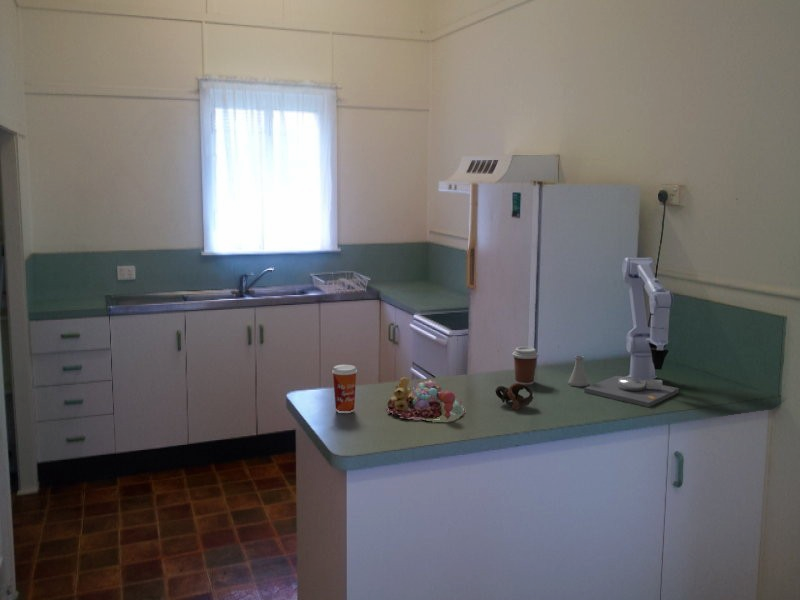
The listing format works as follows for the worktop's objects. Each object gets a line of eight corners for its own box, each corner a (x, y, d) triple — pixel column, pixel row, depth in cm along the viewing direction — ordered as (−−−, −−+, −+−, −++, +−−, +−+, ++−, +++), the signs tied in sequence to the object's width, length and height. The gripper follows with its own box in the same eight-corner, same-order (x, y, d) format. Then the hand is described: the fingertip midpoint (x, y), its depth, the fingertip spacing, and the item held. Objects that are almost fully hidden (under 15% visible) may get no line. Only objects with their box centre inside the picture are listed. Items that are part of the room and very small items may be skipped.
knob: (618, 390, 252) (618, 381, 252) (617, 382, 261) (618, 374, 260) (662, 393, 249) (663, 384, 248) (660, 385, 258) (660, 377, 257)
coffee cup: (541, 381, 269) (542, 348, 267) (531, 387, 262) (532, 353, 259) (517, 377, 274) (518, 344, 272) (507, 383, 266) (508, 349, 264)
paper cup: (338, 416, 230) (337, 371, 228) (328, 409, 237) (328, 365, 234) (361, 412, 234) (361, 368, 231) (351, 405, 240) (351, 362, 238)
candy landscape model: (379, 421, 227) (379, 391, 226) (392, 397, 250) (392, 370, 249) (463, 425, 224) (464, 395, 222) (468, 401, 247) (468, 373, 245)
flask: (587, 381, 269) (588, 354, 267) (590, 387, 261) (591, 359, 260) (566, 381, 269) (567, 353, 267) (569, 387, 262) (570, 358, 260)
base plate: (616, 379, 272) (616, 374, 271) (678, 392, 256) (679, 387, 256) (584, 392, 256) (584, 387, 256) (648, 407, 240) (649, 402, 240)
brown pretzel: (530, 402, 246) (537, 385, 241) (525, 423, 239) (532, 405, 234) (494, 391, 248) (500, 373, 243) (489, 411, 241) (494, 393, 235)
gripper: (645, 322, 262) (643, 360, 264) (648, 330, 248) (646, 371, 250) (667, 323, 260) (664, 361, 263) (671, 331, 246) (668, 372, 249)
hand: (657, 366), depth 256 cm, fingers open, 7 cm apart
